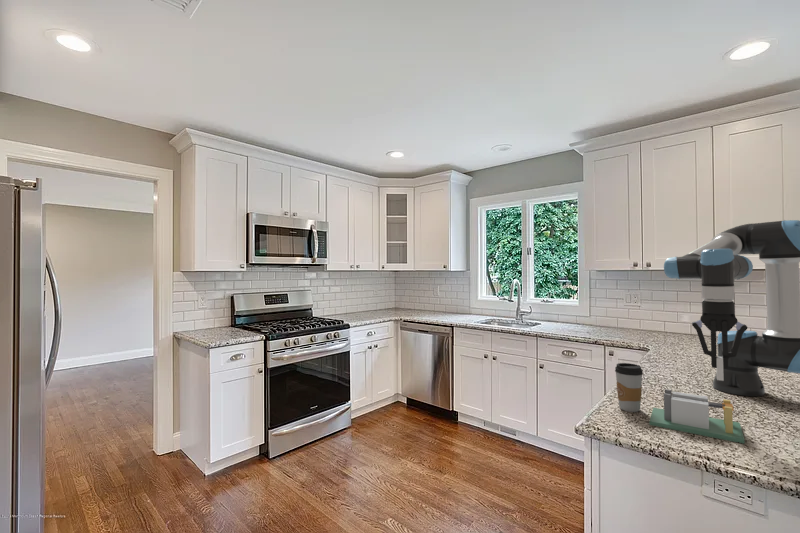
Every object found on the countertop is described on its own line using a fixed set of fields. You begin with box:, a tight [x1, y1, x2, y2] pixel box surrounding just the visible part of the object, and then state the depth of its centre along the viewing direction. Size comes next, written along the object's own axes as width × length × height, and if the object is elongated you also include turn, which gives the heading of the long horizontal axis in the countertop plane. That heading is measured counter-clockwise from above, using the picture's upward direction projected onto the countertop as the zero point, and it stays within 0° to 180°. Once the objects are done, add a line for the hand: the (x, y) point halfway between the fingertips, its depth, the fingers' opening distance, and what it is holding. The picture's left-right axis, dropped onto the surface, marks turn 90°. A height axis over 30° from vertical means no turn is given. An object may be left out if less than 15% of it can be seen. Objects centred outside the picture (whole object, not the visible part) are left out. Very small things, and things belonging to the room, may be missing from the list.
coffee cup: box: [614, 362, 644, 413], centre depth 132 cm, size 8×8×15 cm
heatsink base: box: [649, 388, 745, 444], centre depth 117 cm, size 22×14×9 cm, turn 52°
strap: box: [696, 400, 735, 412], centre depth 116 cm, size 16×4×1 cm, turn 52°
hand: (720, 379), depth 113 cm, fingers closed
